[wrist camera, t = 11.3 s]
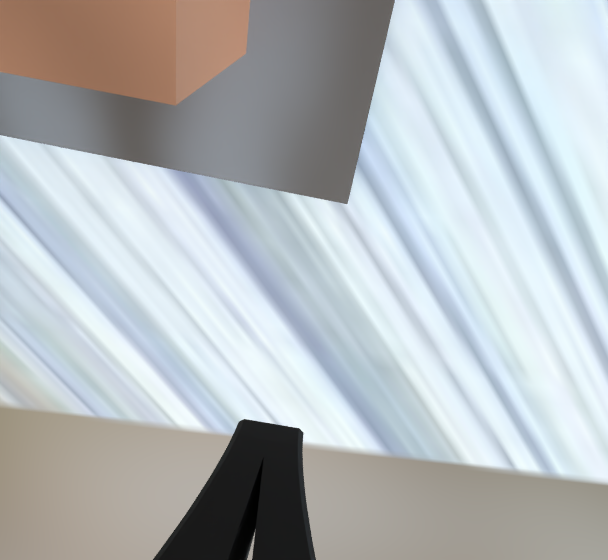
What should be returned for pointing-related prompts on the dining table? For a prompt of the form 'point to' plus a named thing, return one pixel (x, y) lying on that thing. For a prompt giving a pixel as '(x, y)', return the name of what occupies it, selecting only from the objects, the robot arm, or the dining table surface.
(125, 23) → the block
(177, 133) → the post block
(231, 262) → the dining table surface
